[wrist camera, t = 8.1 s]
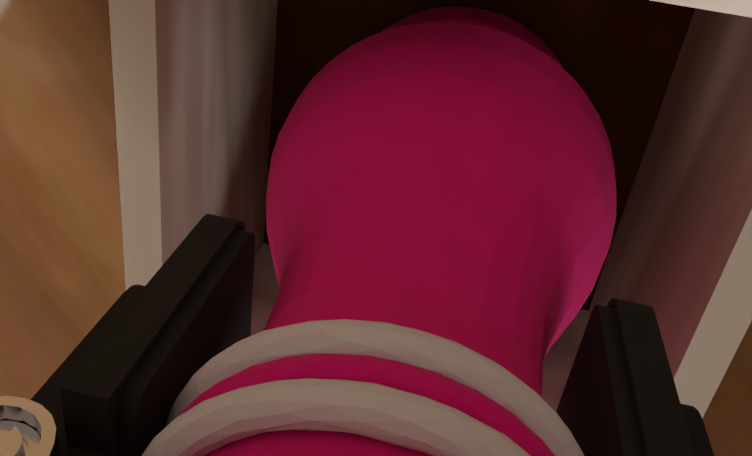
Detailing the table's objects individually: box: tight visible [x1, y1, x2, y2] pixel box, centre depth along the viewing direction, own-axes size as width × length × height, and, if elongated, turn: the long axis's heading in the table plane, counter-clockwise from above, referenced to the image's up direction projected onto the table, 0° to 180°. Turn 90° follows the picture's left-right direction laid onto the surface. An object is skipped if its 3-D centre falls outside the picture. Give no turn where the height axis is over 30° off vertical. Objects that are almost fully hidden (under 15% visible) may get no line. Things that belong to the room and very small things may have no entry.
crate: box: [109, 0, 752, 418], centre depth 16 cm, size 12×12×7 cm
